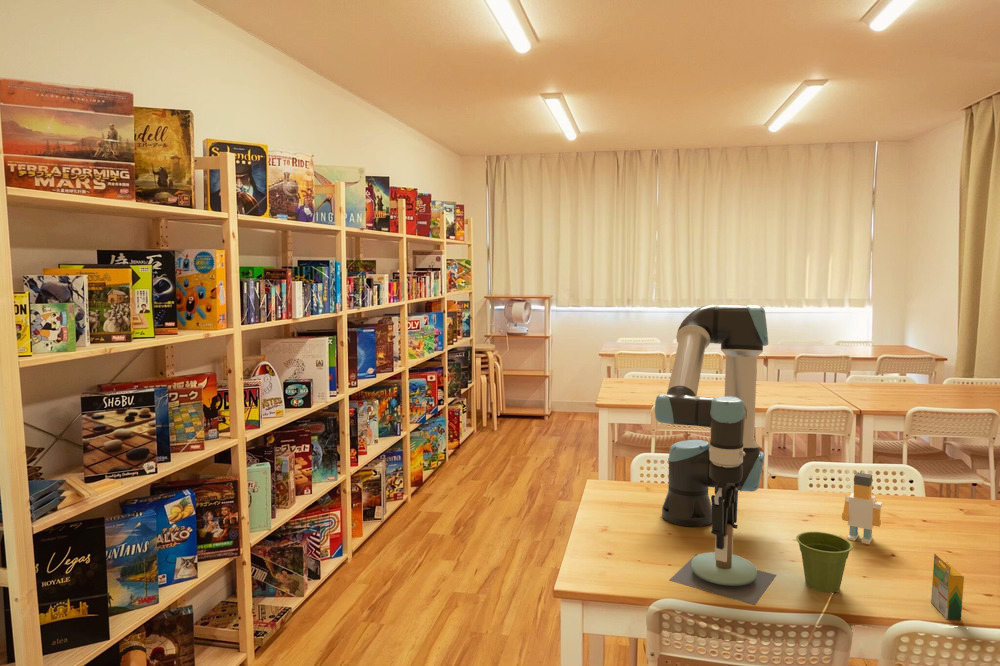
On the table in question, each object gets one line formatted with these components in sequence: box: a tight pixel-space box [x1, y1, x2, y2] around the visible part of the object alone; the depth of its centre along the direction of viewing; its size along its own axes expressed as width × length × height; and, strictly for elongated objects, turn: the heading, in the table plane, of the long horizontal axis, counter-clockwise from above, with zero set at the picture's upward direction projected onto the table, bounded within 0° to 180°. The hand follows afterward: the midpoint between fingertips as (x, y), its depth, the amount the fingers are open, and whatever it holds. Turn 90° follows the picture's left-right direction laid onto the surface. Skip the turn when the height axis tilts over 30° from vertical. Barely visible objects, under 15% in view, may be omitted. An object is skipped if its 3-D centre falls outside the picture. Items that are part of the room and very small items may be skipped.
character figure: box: [841, 471, 883, 545], centre depth 183 cm, size 8×10×18 cm
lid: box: [691, 524, 758, 586], centre depth 159 cm, size 15×15×11 cm
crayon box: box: [930, 553, 965, 621], centre depth 143 cm, size 7×3×12 cm, turn 170°
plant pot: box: [795, 531, 854, 594], centre depth 155 cm, size 12×12×11 cm
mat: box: [669, 553, 777, 606], centre depth 159 cm, size 20×18×1 cm
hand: (723, 556), depth 159 cm, fingers closed on lid, 3 cm apart
